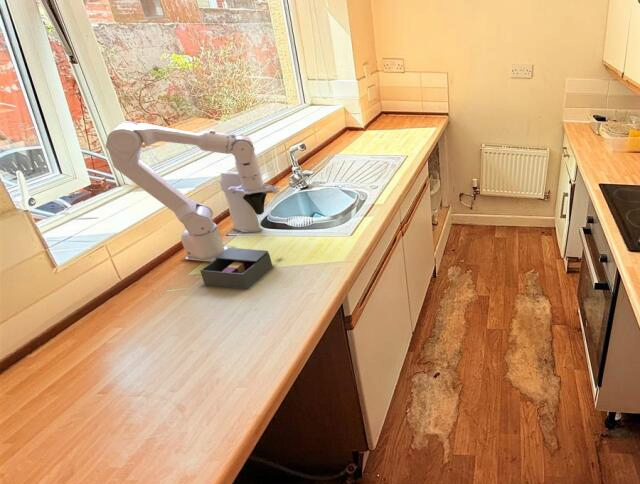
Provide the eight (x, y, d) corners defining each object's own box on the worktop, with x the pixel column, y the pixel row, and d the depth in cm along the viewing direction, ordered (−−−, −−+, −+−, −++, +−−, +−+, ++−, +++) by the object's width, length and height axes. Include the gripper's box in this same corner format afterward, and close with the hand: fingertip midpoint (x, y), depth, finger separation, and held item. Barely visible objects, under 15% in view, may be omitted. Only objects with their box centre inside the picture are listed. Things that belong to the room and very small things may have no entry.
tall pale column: (229, 231, 139) (211, 172, 130) (238, 225, 143) (221, 168, 134) (257, 233, 138) (240, 174, 129) (265, 227, 142) (249, 170, 133)
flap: (215, 258, 115) (214, 257, 115) (229, 248, 119) (228, 247, 119) (256, 262, 113) (255, 261, 113) (268, 251, 118) (268, 250, 118)
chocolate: (223, 283, 112) (219, 272, 111) (243, 267, 119) (240, 256, 118) (233, 284, 112) (229, 273, 110) (253, 267, 119) (250, 257, 118)
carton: (205, 285, 112) (199, 270, 110) (233, 263, 122) (229, 249, 120) (247, 288, 111) (242, 274, 109) (272, 266, 120) (269, 252, 118)
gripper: (217, 179, 120) (230, 219, 126) (267, 179, 121) (277, 218, 126) (231, 171, 126) (242, 209, 132) (278, 170, 127) (287, 208, 133)
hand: (260, 213), depth 130 cm, fingers closed
